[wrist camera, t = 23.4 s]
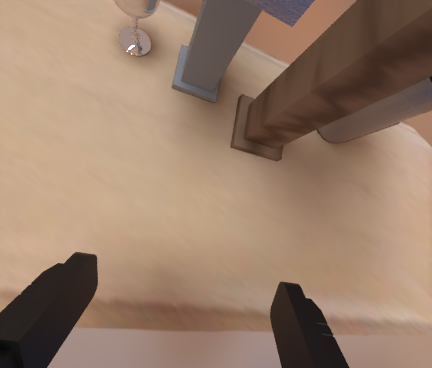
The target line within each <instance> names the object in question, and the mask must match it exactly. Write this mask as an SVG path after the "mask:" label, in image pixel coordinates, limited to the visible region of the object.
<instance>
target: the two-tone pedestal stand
mask: <svg viewBox="0 0 432 368" xmlns="http://www.w3.org/2000/svg"><path fill="white" fill-rule="evenodd" d="M431 76H432V0H357V1H356V2H355V3H354V4H353V5H352V6H351V7H350V8H349V9H348V10H347V11H345V12H344V13H343V14H342V15H341V16H340V17H339V18H338V19H337V20H336V21H335V22H334V23H333V24H332V25H331V26H330V27H329V28H328V29H327V30H326V31H325V32H324V33H323V34H322V35H321V36H320V37H319V38H318V39H317V40H316V41H315V42H314V43H312V45H310V46H309V47H308V48H307V49H306V50H305V51H304V52H303V53H302V54H301V55H300V56H299V57H298V58H297V59H296V60H295V61H294V62H293V63H292V64H291V65H290V66H289V67H288V68H287V69H286V70H285V71H284V72H282V73H281V74H280V75H279V76H278V77H277V78H276V79H275V80H274V81H273V82H272V83H271V84H270V85H269V86H268V87H267V88H266V89H265V90H264V91H263V92H262V93H261V94H260V95H259V96H258V97H257V98H256V99H253V98H250V97H248V96H245V95H243V94H242V95H241V96H240V97H239V99H238V105H237V111H236V117H235V123H234V129H233V136H232V142H231V147H232V148H235V149H238V150H242V151H245V152H248V153H252V154H255V155H258V156H262V157H265V158H268V159H272V160H275V161H279V160H281V158H282V149H283V145H284V144H286V143H289V142H291V141H293V140H295V139H297V138H299V137H302V136H304V135H306V134H308V133H310V132H312V131H314V130H317V129H319V128H321V127H323V126H325V125H327V124H330V123H332V122H334V121H336V120H338V119H340V118H342V117H345V116H347V115H349V114H351V113H353V112H355V111H358V110H360V109H362V108H364V107H366V106H368V105H370V104H373V103H375V102H377V101H379V100H381V99H383V98H386V97H388V96H390V95H392V94H394V93H396V92H398V91H401V90H403V89H405V88H407V87H409V86H411V85H413V84H416V83H418V82H420V81H422V80H424V79H426V78H429V77H431Z"/></svg>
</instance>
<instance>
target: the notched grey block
mask: <svg viewBox="0 0 432 368" xmlns="http://www.w3.org/2000/svg"><path fill="white" fill-rule="evenodd" d="M245 1H247V2H249V3H251V4H252V5H254V6H256V7H258V8H259V9H261V10H263V11H265V12H266V13H268V14H270V15H272V16H273V17H275V18H277V19H278V20H280V21H282V22H284V23H285V24H287V25H289V26H291V27H293V26H294V25H295V23H296V22H297V21H298V20H299V18H300V17H301V16H302V15H303V14H304V12H305V11H306V10H307V9H308V8H309V7H310V5H311V4H312V3H313V2H314V1H315V0H245Z"/></svg>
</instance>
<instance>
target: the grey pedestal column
mask: <svg viewBox="0 0 432 368" xmlns="http://www.w3.org/2000/svg"><path fill="white" fill-rule="evenodd" d="M261 11H262V10H261V9H259V8H258V7H256V6H254V5H252V4H251V3H249V2H247V1H245V0H203V2H202V6H201V9H200V12H199V15H198V18H197V22H196V25H195V28H194V31H193V35H192V38H191V41H190V44H189V47H187V46H185V45H183V44H182V46H181V50H180V55H179V59H178V63H177V67H176V72H175V76H174V80H173V85H172V88H174V89H177V90H179V91H182V92H185V93H188V94H191V95H193V96H196V97H199V98H202V99H204V100H207V101H210V102H213V103H215V102H216V100H217V95H218V89H219V84H220V79H221V76H222V75H223V73H224V71H225V70H226V68H227V67H228V65H229V63H230V62H231V60H232V58H233V57H234V55H235V54H236V52H237V50H238V49H239V47H240V45H241V44H242V42H243V40H244V39H245V37H246V35H247V34H248V32H249V31H250V29H251V27H252V26H253V24H254V23H255V21H256V19H257V18H258V16H259V14H260V13H261Z"/></svg>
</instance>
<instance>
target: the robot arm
mask: <svg viewBox="0 0 432 368" xmlns="http://www.w3.org/2000/svg"><path fill="white" fill-rule="evenodd" d="M431 110H432V76H431V77H429V78H426V79H424V80H422V81H420V82H418V83H416V84H413V85H411V86H409V87H407V88H405V89H403V90H401V91H398V92H396V93H394V94H392V95H390V96H388V97H386V98H383V99H381V100H379V101H377V102H375V103H373V104H370V105H368V106H366V107H364V108H362V109H360V110H358V111H355V112H353V113H351V114H349V115H347V116H345V117H342V118H340V119H338V120H336V121H334V122H332V123H330V124H327V125H325V126H323V127H321V128H319V129H317V130H318V131H319V133H320V134H321V136H322V137H323V138H324V139H326V140H327V141H329V142H332V143H340V142H343V141H350V140H353V139H356V138H359V137H362V136H365V135H368V134H371V133H374V132H377V131H380V130H383V129H385V128H388V127H391V126H394V125H397V124H399V123H400V121H403V120H406V119H409V118H412V117H415V116H418V115H420V114H423V113H426V112H429V111H431ZM97 284H98V274H97V256H96V255H94V254H87V253H80V252H76V253H74V254H73V255H72V256H71V257H70V258H69V259H68V260H67V261H66V262H65V263H64V264H61V263H58V264H56V265H54V266H52V267H51V268H49V269H47V270H45V271H44V272H43V273H41V274H40V275H39V276H38V277H37V278H36V279H35V280H34V281H33V282H32V284H31V285H29V286H28V287H27V288H26V289H25V290H24V291H22V292H21V295H18V296H17V297H16V298H15V299H14V300H13V301H12V302H11V303H10V304H9V305H8V306H7V307H6V308H5V309H4V310H2V311H1V312H0V368H47V367H48V365H49V364H50V362H51V361H52V359H53V358H54V356H55V355H56V353H57V352H58V350H59V348H60V347H61V345H62V344H63V342H64V341H65V339H66V338H67V336H68V335H69V333H70V332H71V330H72V329H73V327H74V326H75V324H76V323H77V321H78V319H79V318H80V316H81V315H82V313H83V312H84V310H85V309H86V307H87V306H88V304H89V303H90V301H91V300H92V298H93V296H94V294H95V292H96V289H97ZM270 318H271V324H272V329H273V333H274V337H275V341H276V345H277V349H278V353H279V357H280V362H281V366H282V368H349V366H348V364H347V362H346V360H345V358H344V356H343V354H342V352H341V350H340V348H339V346H338V344H337V342H336V340H335V338H334V337H333V334H332V332H331V330H330V328H329V326H328V325H327V322H326V320H325V317H324V315H323V313H322V311H321V310H320V309H319V308H318V306H317V305H316V304H315V303H314V302H313V301H312V300H311V299H308V298H305V295H304V293H303V291H302V289H301V287H300V285H299V284H294V283H287V282H280V283H279V285H278V288H277V291H276V294H275V297H274V300H273V303H272V306H271V312H270Z"/></svg>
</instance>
